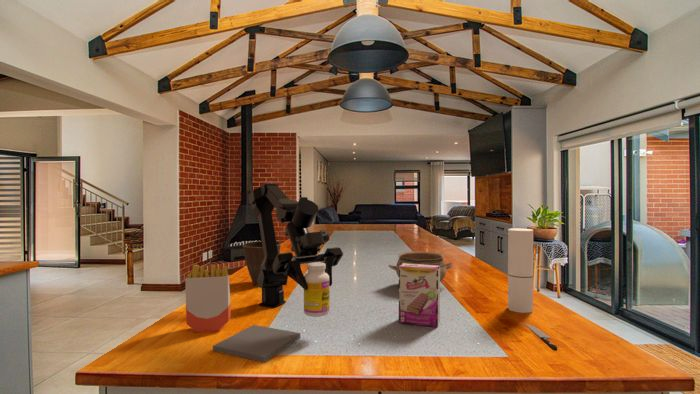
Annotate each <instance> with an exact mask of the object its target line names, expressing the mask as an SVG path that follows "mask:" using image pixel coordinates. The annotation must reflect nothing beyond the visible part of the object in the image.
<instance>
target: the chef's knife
mask: <svg viewBox="0 0 700 394" xmlns="http://www.w3.org/2000/svg"><path fill="white" fill-rule="evenodd" d="M523 324H524V325H525V326H526V327H527V328H528V329H529V330H530V331H532V332H533V334H535V335H536V336H537V337H538V338H539V339H541V340H542V341H543V342H544V343H545V344H547V346H549V348H551V350H555V351H556V350H557V349H558V346H557V345H556V344H553V343H552V342H551V341H549V339H550V340H551V339H552V337H551V336H549V335H548V334H546V333H545V332H543V331H542V330H541V329H539V328H537V327H536V326H534V325H532V324H528V323H527V322H524V323H523Z"/></svg>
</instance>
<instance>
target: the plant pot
mask: <svg viewBox="0 0 700 394" xmlns="http://www.w3.org/2000/svg"><path fill="white" fill-rule="evenodd" d="M276 242H277V248H278V253H281V244H282V243H281V242H280V241H276ZM242 248H243V250H242V251H243V254H244V255H243V256H244V260H245V263H246V267H247V271H248V274H249V276H250V279H251V281H252V285H254V286H258V283H257V279H258V276H259V274H260V271H261V264H262V262H263V260H264V252H263V246H262V240H261V241H252V242H246V243H244V244H242Z"/></svg>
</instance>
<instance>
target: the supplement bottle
mask: <svg viewBox="0 0 700 394" xmlns="http://www.w3.org/2000/svg"><path fill="white" fill-rule="evenodd" d="M306 266H307V267H306V268H307V273H305V274H304V278H305V280H306V283H307V287H308V289H307V290H304V289H303V313H304V315H306V316H309V317H312V318H316V317H317V318H318V317H319V318H320V317H324V316H326V315H328V314H329V313H330V308H331V307H330V306H331V305H330V299H331V298H330V286H329V275H328V274H327V273H325V269H326V264H325V263H321V262H313V263H307V265H306Z"/></svg>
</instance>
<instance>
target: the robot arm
mask: <svg viewBox="0 0 700 394" xmlns="http://www.w3.org/2000/svg"><path fill="white" fill-rule="evenodd" d="M248 200H249V201H248V202H249V204H250V206H251V210H252V212H253V213H254V214H255V215H256V217H257V219H258V224H259V230H260V237H261V238H260V239H261V241H262V246H263V252H264V260H263V262H262V264H261V271H260V274H259V276H258V279H257V283H258V285H257V287H259V288H260V289H261V302H260V303H258V306H262V307H269V308H277V307H279V306H281V305H283V304H285V303H286V300H285V296H284V295H285V290H284V286H287V285H288V277H289V278H291V279H292V280H293V281H294V282H295V283H297V284H298V286H300V287H301V288H303V291H304V290H307V289H308V287H307V283H306V280H305V278H304V276H305V274H304V273H303V270H302V268H301V265H304V264H305V265H306V264H307V265H308V264H309V263H313V262H321V263H325V264H326V269H325V273H327V274H328V275H329V287H332V285H333V267H335V266H337V265H338V264H339V263H340V261H341V259H342V257H344V256H343V255H344V252H343V250H342V249H341V247H340V246H339V247H338V246H336V247H328V248H326V249H325V251H324V252H323V253H319V254H318V252H320V251H321V250H322V249H321V246H322V245H325V244H326V243H328V241H330V235H329V232H328V231H327V229H320V230H319V231H312V232H310V231H309V228H311V226H312V225H313V223H314V221H315V219H316V217H317V215H318V213H319V206H318V204H317V203H315V202H314V201H312V200H310V199H308V197H307V196H302V197H301V196H300V198H299V199H298V200H295V199H290V198H289V197H288V196H287V195H286V193H284V191H283V190H282V189H281V188H280V187H279V184H278V183H275V182H273V183H272V182H267V183H266V182H265V183H262V184H261V185H260V186H259V187H257V188H255V189H252V191H251V192H250V194H249V197H248ZM274 209H276V211H275V212H276V213H275V216H276V218H277V220H278V221H279V223H281V224H287V225H286V226H285V230H286V231H285V233H284V234H285V237H288V238H289V241H290V244H291V247H290V250H291V251H290V252H280V253H278V248H277V242H278V241H277V238H276V237H277V236H276V232H275V231H276V230H275V225H274V219H273V211H274ZM292 252H294V255H293V253H292Z"/></svg>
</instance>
